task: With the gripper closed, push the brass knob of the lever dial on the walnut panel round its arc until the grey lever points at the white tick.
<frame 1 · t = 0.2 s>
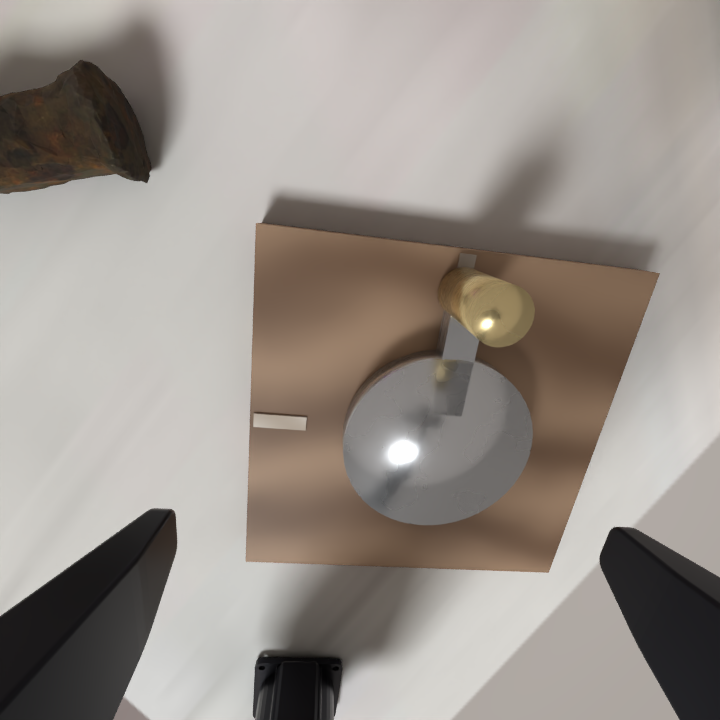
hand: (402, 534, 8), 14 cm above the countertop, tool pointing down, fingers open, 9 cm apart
dial panel: (425, 419, 24), on the countertop
dial: (452, 423, 19), point 4 cm above the countertop, hinge at 0.0°
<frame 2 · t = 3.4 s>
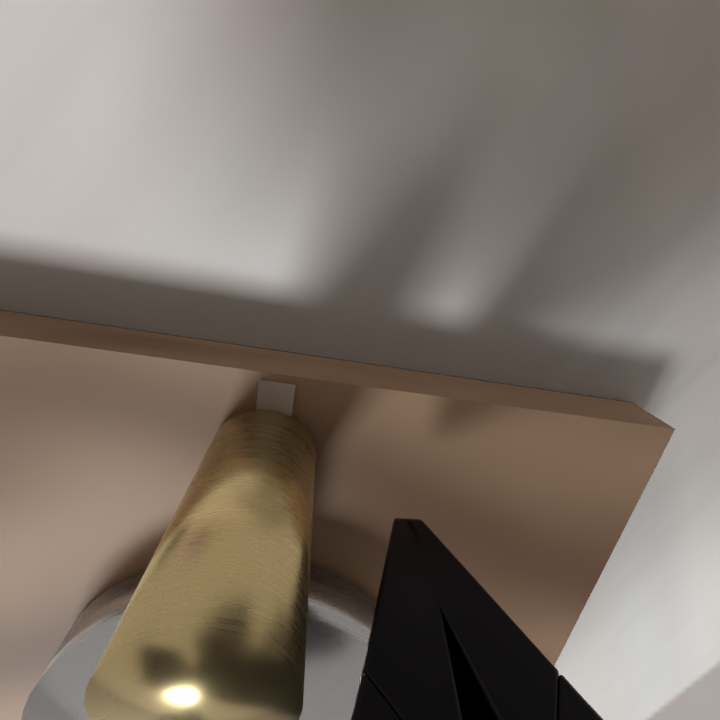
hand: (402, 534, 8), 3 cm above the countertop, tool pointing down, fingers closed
dial panel: (250, 626, 13), on the countertop
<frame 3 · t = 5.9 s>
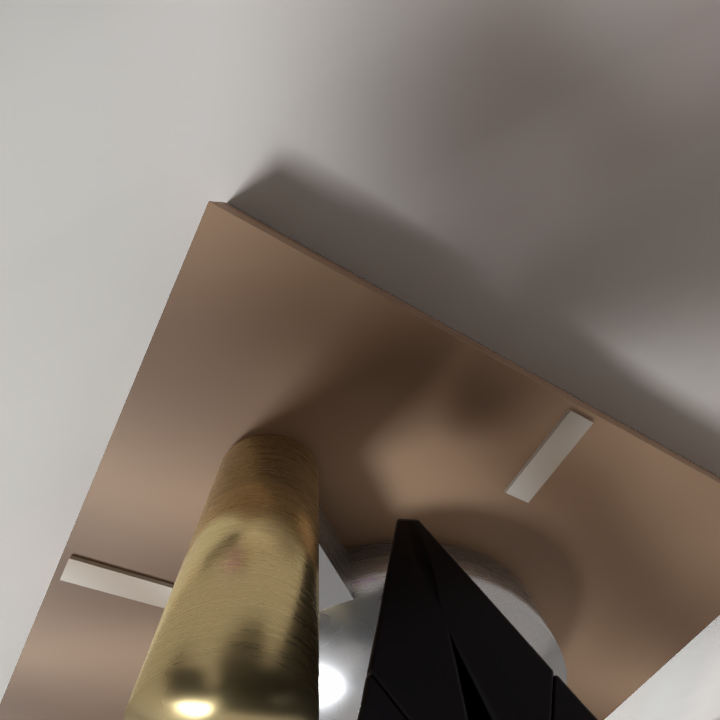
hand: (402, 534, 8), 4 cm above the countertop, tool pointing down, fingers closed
dial panel: (380, 612, 14), on the countertop
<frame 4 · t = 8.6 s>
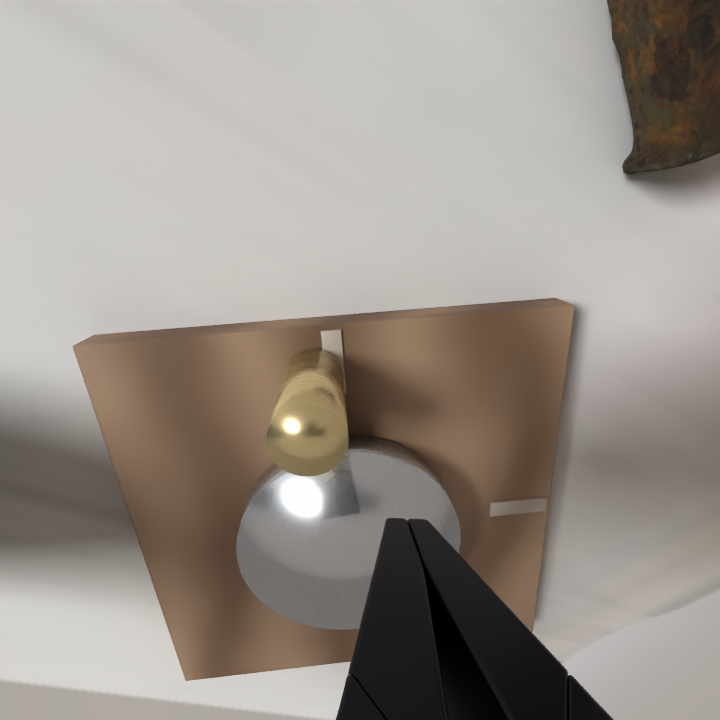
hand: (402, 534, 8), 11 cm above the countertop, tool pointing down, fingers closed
dial panel: (347, 502, 21), on the countertop
dial: (342, 532, 16), point 4 cm above the countertop, hinge at 96.1°
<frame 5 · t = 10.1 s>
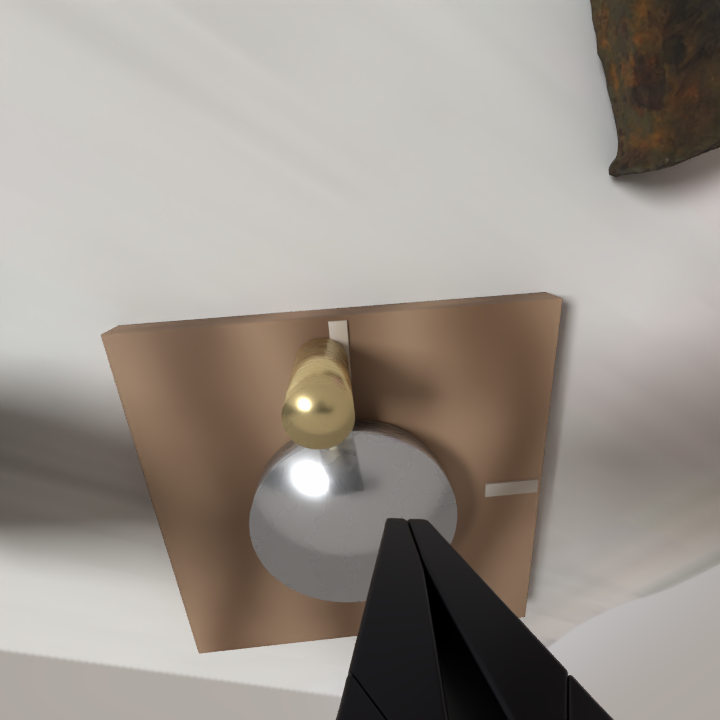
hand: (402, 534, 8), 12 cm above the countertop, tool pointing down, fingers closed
dial panel: (351, 484, 22), on the countertop
dial: (347, 507, 17), point 4 cm above the countertop, hinge at 96.1°
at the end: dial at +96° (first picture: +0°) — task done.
